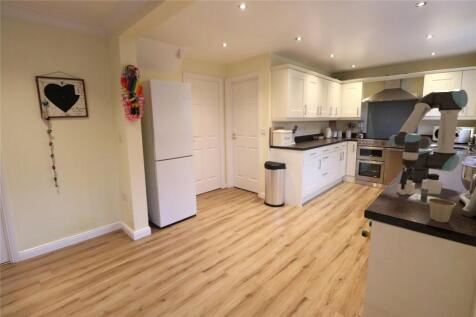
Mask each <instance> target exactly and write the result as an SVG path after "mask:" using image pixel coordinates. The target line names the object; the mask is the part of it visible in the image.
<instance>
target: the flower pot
mask: <svg viewBox="0 0 476 317" xmlns="http://www.w3.org/2000/svg"><path fill="white" fill-rule="evenodd" d="M436 198H437V197H436ZM436 198H431V199H428V201H429V204H430V206H429V215H430V216H429V218H430V219H431V220H432V221H433V220H434V221H435V222H439V223H448V222H449V219H450V217H451V214H452V211H453V209H454V208H455V206H456V205H457V204H456V203H455V202H454V201H451V200H448V199H442V198H441V199H436Z"/></svg>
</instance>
